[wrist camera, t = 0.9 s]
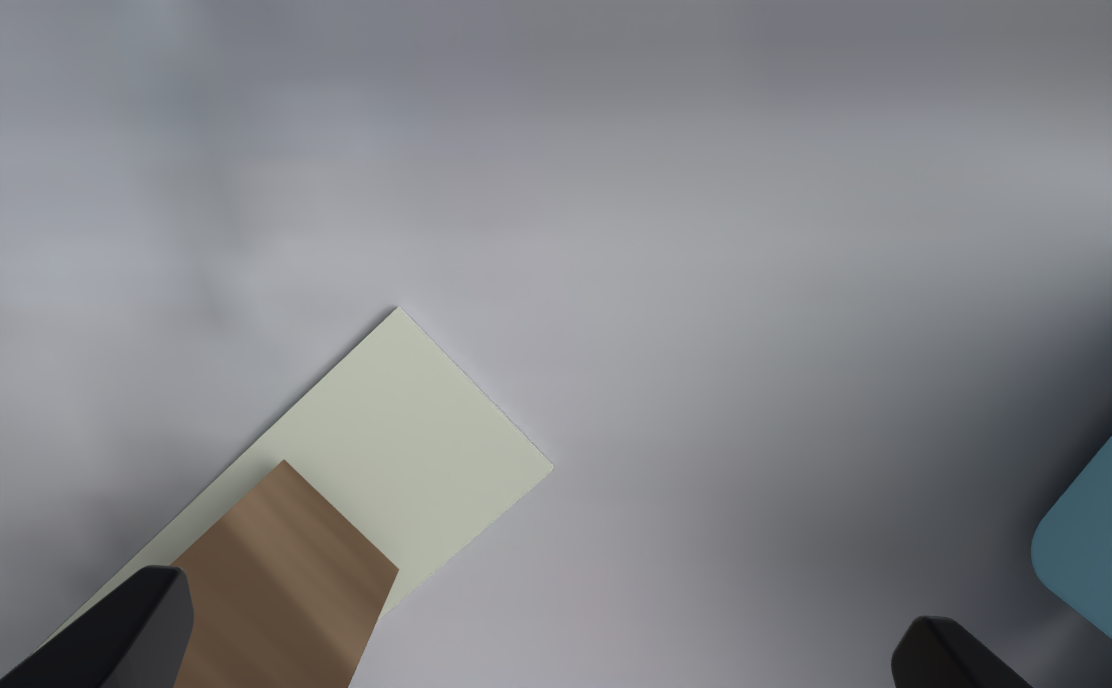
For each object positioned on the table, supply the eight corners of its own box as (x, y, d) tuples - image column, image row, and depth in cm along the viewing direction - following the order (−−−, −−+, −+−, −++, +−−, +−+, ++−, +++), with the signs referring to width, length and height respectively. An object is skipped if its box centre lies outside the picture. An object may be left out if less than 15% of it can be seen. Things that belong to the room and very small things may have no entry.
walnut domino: (364, 600, 22) (234, 864, 13) (248, 491, 21) (29, 695, 13) (399, 569, 22) (291, 817, 13) (283, 458, 21) (86, 642, 12)
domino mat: (91, 864, 25) (86, 872, 25) (-62, 742, 24) (-70, 748, 24) (553, 465, 22) (553, 469, 22) (399, 306, 21) (397, 307, 21)
